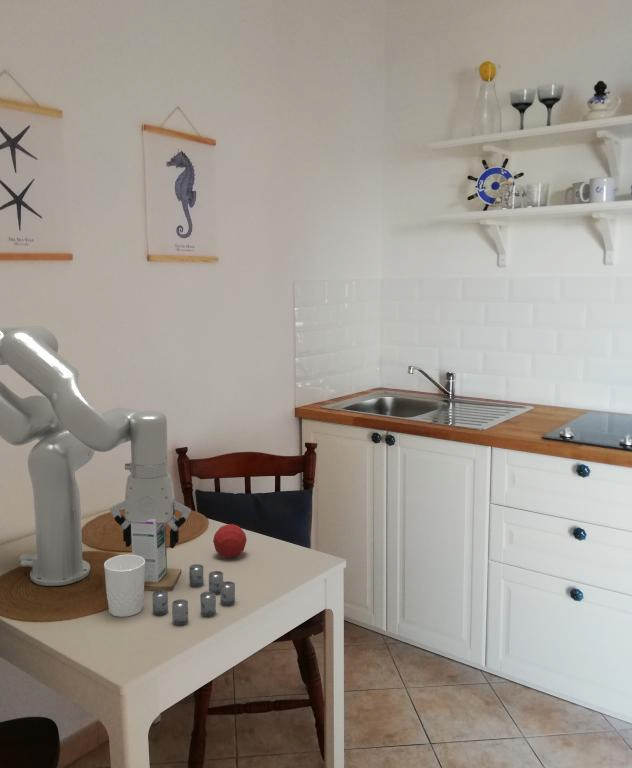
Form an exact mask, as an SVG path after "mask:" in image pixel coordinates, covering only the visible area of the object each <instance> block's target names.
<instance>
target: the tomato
mask: <svg viewBox="0 0 632 768" xmlns="http://www.w3.org/2000/svg"><path fill="white" fill-rule="evenodd" d="M212 542H213V543H212V544H213V546H214V549H215V551H216V552H217V554H219V556H222V557H225V558H235V557H236V556H240V555H241V554H242V552H243V551H244V550H245V547H246V543H247V535H246V533H245V531H244V530H243V529H242V527H240V526H239V525H236V524H225V525H222V526H220V527H219V528H218V529H217V531H216V532H215V533H214V534H213V539H212Z"/></svg>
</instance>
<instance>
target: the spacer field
mask: <svg viewBox="0 0 632 768" xmlns="http://www.w3.org/2000/svg"><path fill="white" fill-rule="evenodd" d="M188 569H189V571H188V572H189V575H188V576H189V579H188V580H189V586H190V587H191V588H201V587H203V586H204V565H203V564H201V563H200V564H198V563H195V564H192V565H189V568H188ZM168 592H169V591H165V590H158V591H153V592H152V594H151V595H152V614H153V616H156V617H157V616H158V617H161V616H162V617H163V616H166V615H167V614H168V613H169V593H168ZM218 595H219V596H220V597H219V599H220V602H219V603H220V606H223V607H231V605H232V606H234V605H235V604H234V603H236V583H235V582H234V581H231V580H230V581H224V573H223V572H222V571H220V570H215V571H211V572H209V573H208V591H204V592H201V593H200V602H199V603H200V616H201V617H203V618H212V617H214V616H216V614H217V612H216V611H217V605H216V604H217V601H216V600H217V599H216V598H217V597H216V596H218ZM171 606H172V607H171V609H172V612H171V613H172V616H171V617H172V618H171V619H172V625H174V626H176V627H183V626H186V625H187V624H188V623H189V602H188V600H186V599H183V598H182V599H175V600H174V601H172V603H171ZM211 616H212V617H211Z"/></svg>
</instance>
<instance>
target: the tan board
mask: <svg viewBox="0 0 632 768" xmlns="http://www.w3.org/2000/svg"><path fill="white" fill-rule="evenodd" d="M181 575H182V568H168V567H167V572H166V573H165V575H164V576H163V577H162V578H161V579H160V580H159V582H158V583H152V582H144V591H153V592H155V591H158V590H165V591H167V592H173V591H174V589H175V586H176V584H177V582H178V580H179V579H180V576H181Z"/></svg>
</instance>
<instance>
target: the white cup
mask: <svg viewBox="0 0 632 768" xmlns="http://www.w3.org/2000/svg"><path fill="white" fill-rule="evenodd" d="M103 567H104V580H105V592H106V599H107V605H108V613H109V614H111V615H112V616H114V617H119V618H123V617H126V618H127V617H132V616H135V615H137V614H138V613H141V612H142V610H143V608H144V595H145V590H144V582H145V560H144V558H142V557H141V556H137V555H132V554H121V555H115V556H113V557H110V558H108V559H107V560H105V562H104V563H103Z"/></svg>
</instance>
